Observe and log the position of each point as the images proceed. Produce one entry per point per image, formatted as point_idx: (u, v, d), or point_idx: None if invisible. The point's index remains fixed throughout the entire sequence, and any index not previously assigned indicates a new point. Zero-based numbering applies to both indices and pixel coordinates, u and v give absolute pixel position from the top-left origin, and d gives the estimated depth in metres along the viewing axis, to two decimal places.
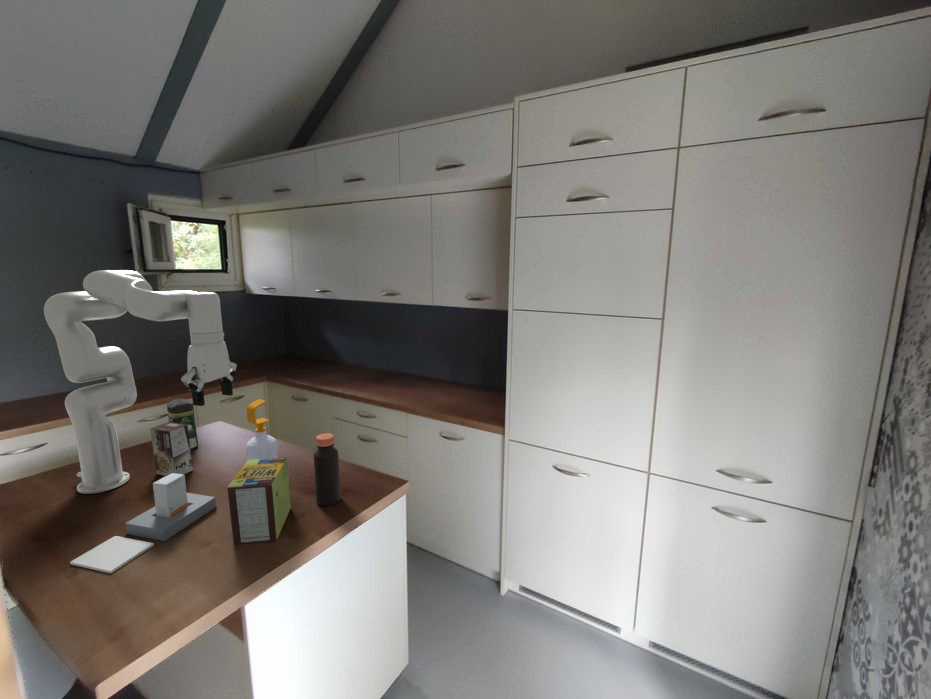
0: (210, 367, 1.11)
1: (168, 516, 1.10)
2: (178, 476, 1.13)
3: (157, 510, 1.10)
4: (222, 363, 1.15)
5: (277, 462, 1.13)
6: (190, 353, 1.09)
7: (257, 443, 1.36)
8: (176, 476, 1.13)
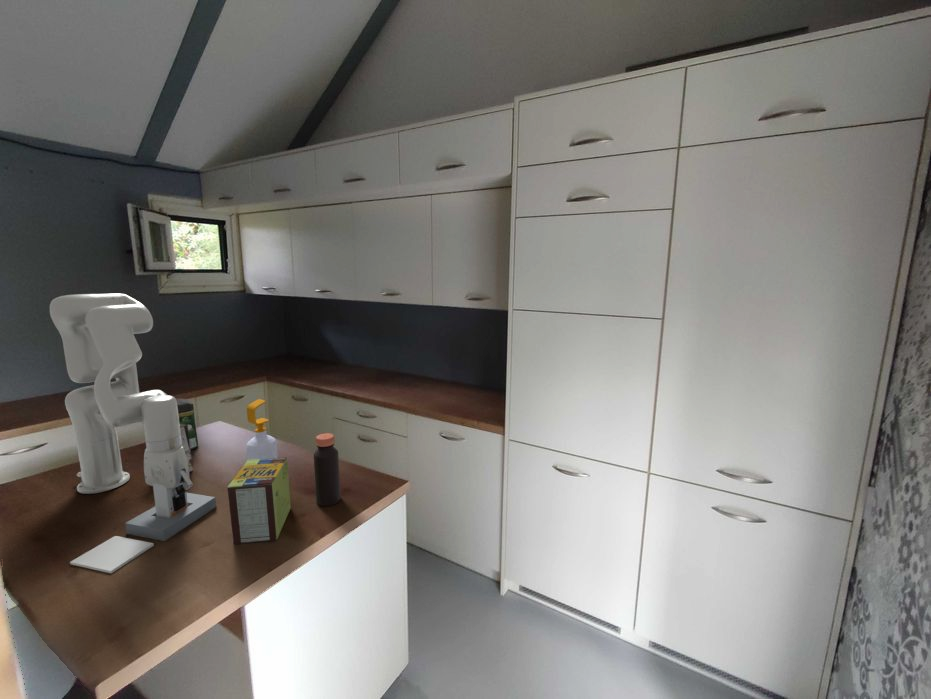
0: None
1: (168, 516, 1.10)
2: None
3: (157, 510, 1.10)
4: None
5: (277, 462, 1.13)
6: (177, 458, 1.08)
7: (257, 443, 1.36)
8: None
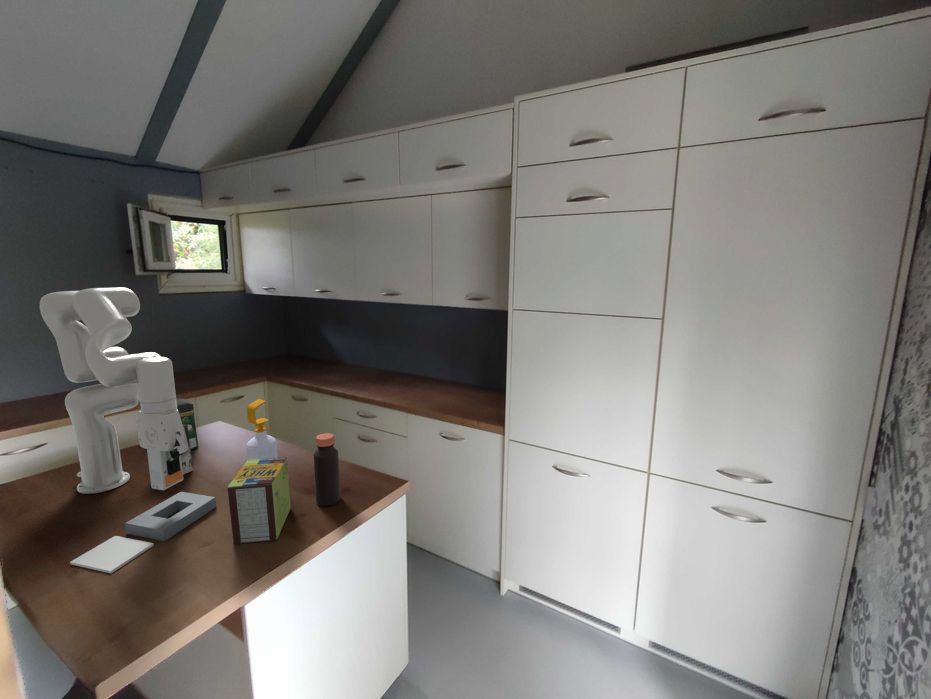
0: None
1: (162, 480, 1.08)
2: None
3: (151, 473, 1.09)
4: None
5: (277, 462, 1.13)
6: (171, 420, 1.06)
7: (257, 443, 1.36)
8: None
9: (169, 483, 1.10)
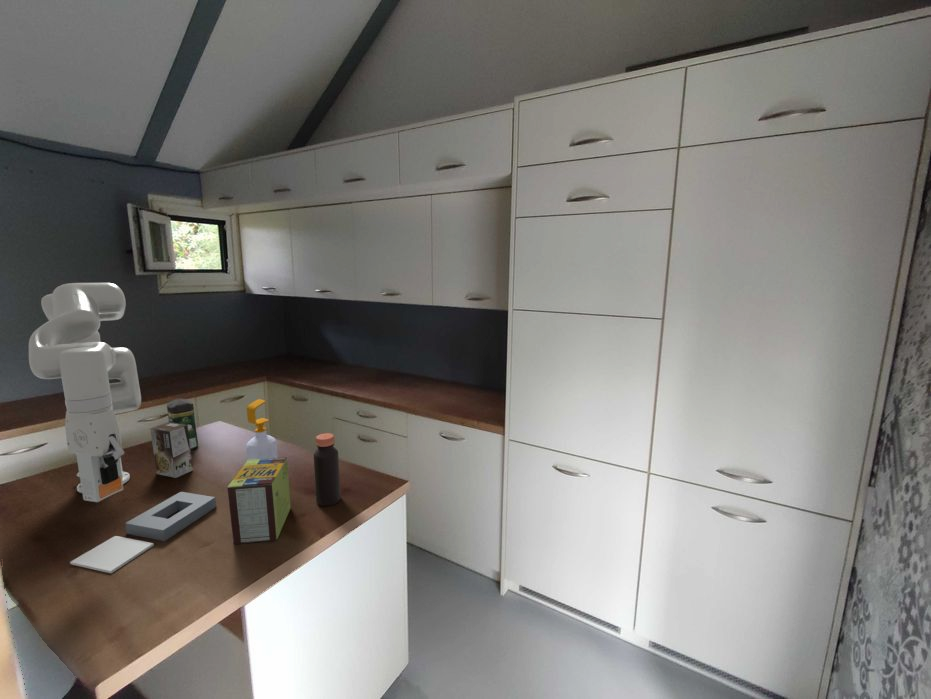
0: None
1: (95, 490, 0.93)
2: None
3: (82, 483, 0.93)
4: None
5: (277, 462, 1.13)
6: (103, 420, 0.91)
7: (257, 443, 1.36)
8: None
9: (104, 494, 0.95)
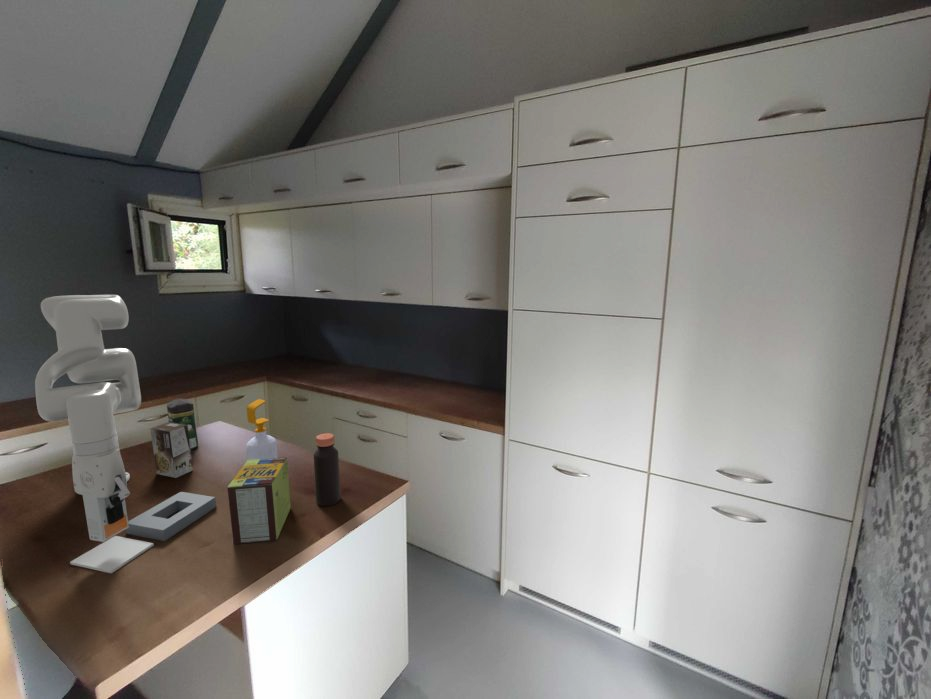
0: None
1: (101, 530, 0.95)
2: None
3: (88, 523, 0.95)
4: None
5: (277, 462, 1.13)
6: (109, 462, 0.93)
7: (257, 443, 1.36)
8: None
9: (110, 533, 0.96)
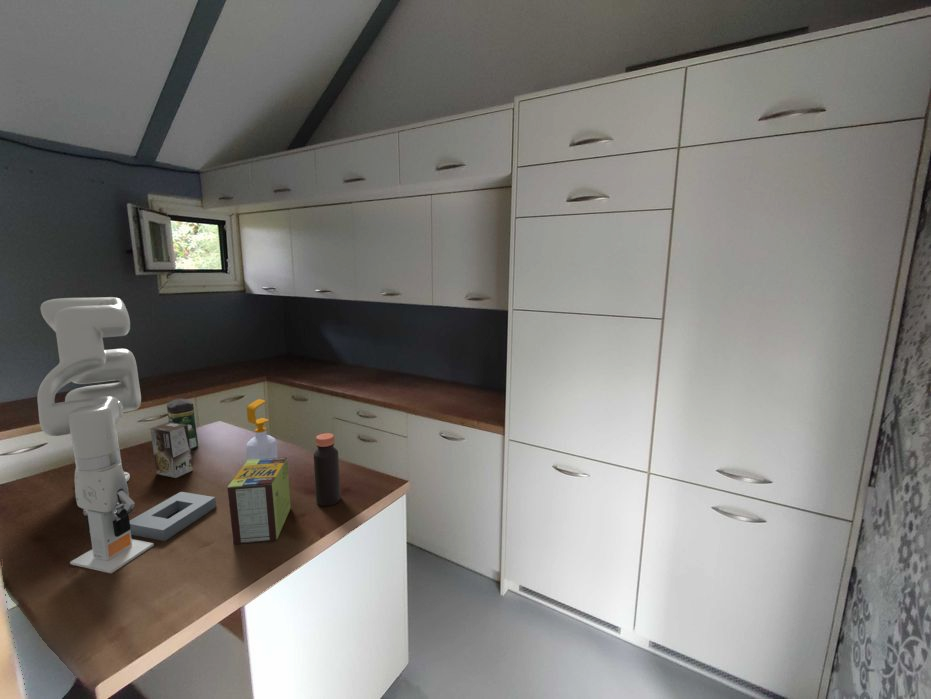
0: None
1: (104, 549, 0.96)
2: None
3: (93, 542, 0.96)
4: None
5: (277, 462, 1.13)
6: (112, 477, 0.94)
7: (257, 443, 1.36)
8: None
9: (113, 552, 0.97)
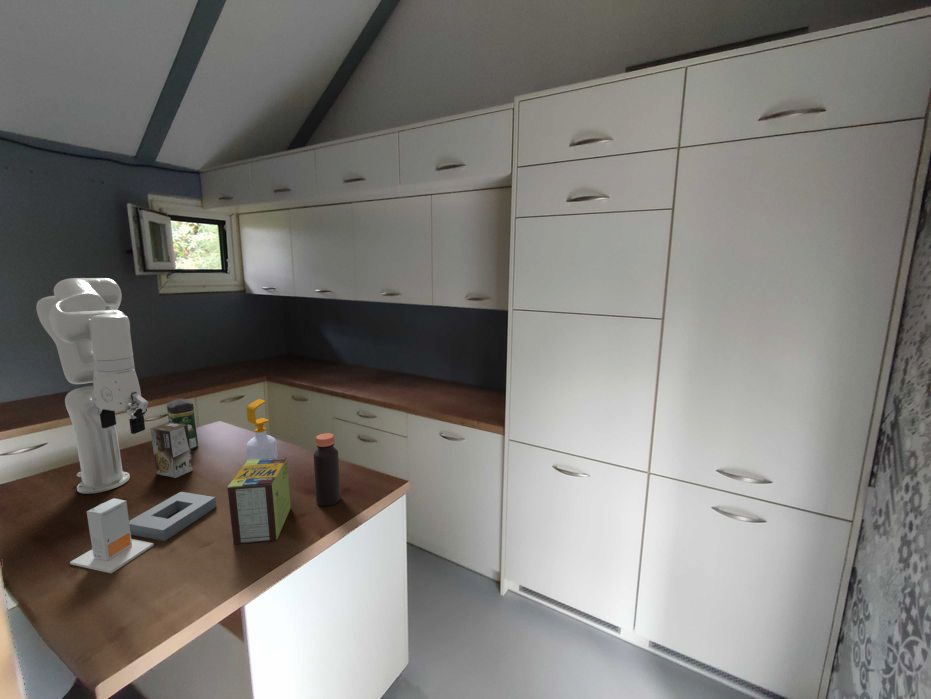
0: None
1: (104, 549, 0.96)
2: (118, 503, 0.98)
3: (92, 542, 0.96)
4: None
5: (277, 462, 1.13)
6: (127, 380, 1.03)
7: (257, 443, 1.36)
8: (116, 502, 0.99)
9: (113, 552, 0.97)
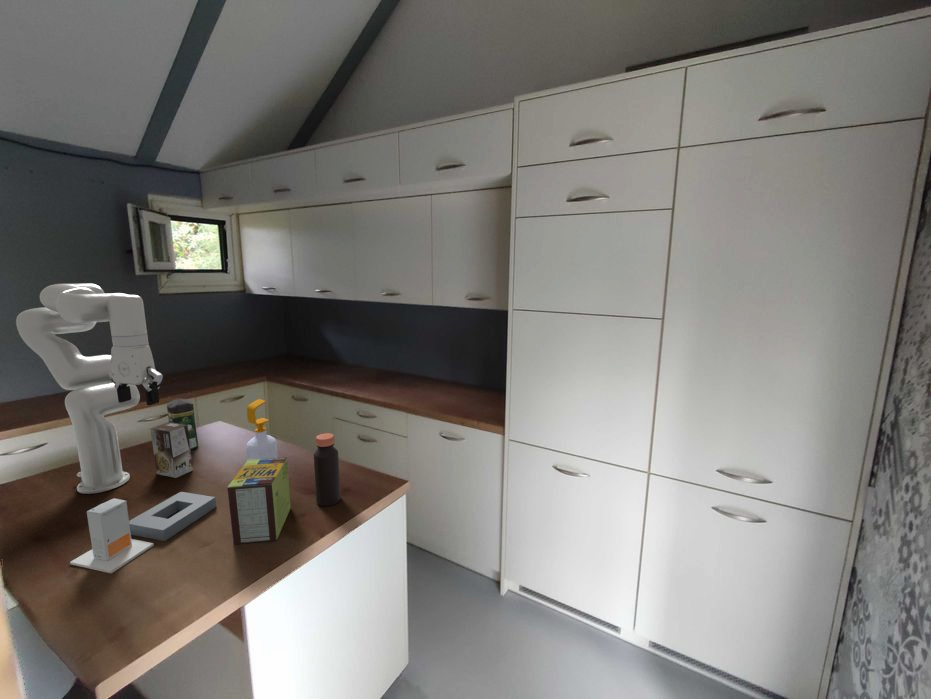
0: None
1: (104, 549, 0.96)
2: (118, 503, 0.98)
3: (92, 542, 0.96)
4: None
5: (277, 462, 1.13)
6: (142, 354, 1.11)
7: (257, 443, 1.36)
8: (116, 502, 0.99)
9: (113, 552, 0.97)
